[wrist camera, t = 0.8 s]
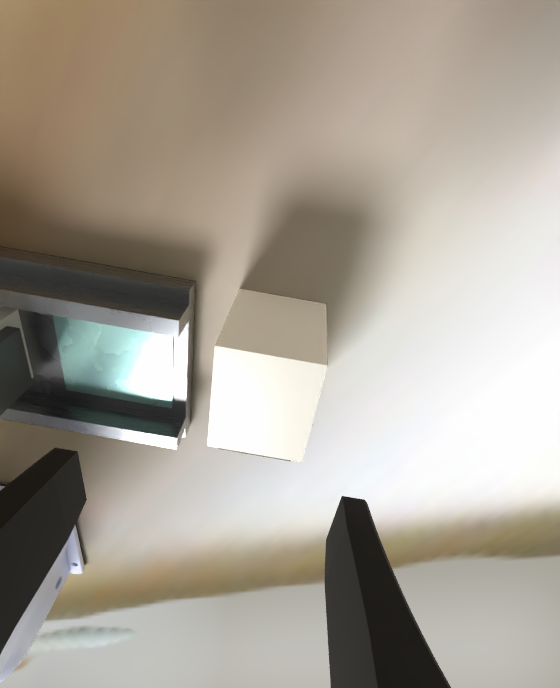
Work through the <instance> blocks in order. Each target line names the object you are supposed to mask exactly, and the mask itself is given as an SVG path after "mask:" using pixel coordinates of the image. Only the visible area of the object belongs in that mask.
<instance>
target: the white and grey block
mask: <svg viewBox="0 0 560 688" xmlns="http://www.w3.org/2000/svg"><path fill="white" fill-rule="evenodd" d="M32 378H33V372H32V368H31V364H30V359H29V355H28V351H27V346H26V342H25V338H24V333H23V329H22V325H21V320H20V316H19V312H18V309H15V308H9V307H3V306H0V416H1V415H2V414H3V413H4V412H5V411H6V410H7V409H8V408H9V407H10V406H11V405H12V404H13V403H14V402H15V401H16V400H17V399H18V398H19V397H20V396H21V395H22V394H23V393H24V392H25V391H26V390H27V389H28V388H29V387H30V386H31V385H32V384H33V382H32Z"/></svg>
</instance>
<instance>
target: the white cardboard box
mask: <svg viewBox="0 0 560 688" xmlns="http://www.w3.org/2000/svg"><path fill="white" fill-rule="evenodd" d="M327 367H328V350H327V316H326V304H324V303H318V302H312V301H307V300H301V299H295V298H290V297H284V296H278V295H273V294H267V293H262V292H256V291H250V290H245V289H239V291H238V293H237V296H236V298H235V300H234V303H233V305H232V307H231V309H230V312H229V314H228V316H227V319H226V321H225V323H224V326H223V328H222V330H221V333H220V335H219V337H218V340H217V342H216V344H215V350H214V363H213V376H212V389H211V403H210V416H209V429H208V442H207V446H210V447H216V448H218V449H223V450H229V451H235V452H241V453H246V454H252V455H258V456H263V457H269V458H275V459H281V460H286V461H296V462H302V461H303V457H304V453H305V450H306V446H307V442H308V438H309V435H310V431H311V427H312V423H313V420H314V416H315V412H316V409H317V405H318V401H319V397H320V394H321V390H322V386H323V382H324V379H325V375H326V371H327Z"/></svg>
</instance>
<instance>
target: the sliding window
mask: <svg viewBox="0 0 560 688" xmlns="http://www.w3.org/2000/svg"><path fill="white" fill-rule="evenodd" d="M195 290H196V281H191V280H185V279H180V278H174V277H169V276H163V275H157V274H152V273H146V272H140V271H135V270H129V269H123V268H118V267H112V266H106V265H101V264H95V263H90V262H84V261H78V260H73V259H67V258H61V257H56V256H50V255H44V254H39V253H33V252H27V251H22V250H16V249H11V248H5V247H0V306H3V307H9V308H15V309H18V312H19V316H20V320H21V325H22V329H23V333H24V338H25V342H26V346H27V351H28V355H29V359H30V364H31V368H32V372H33V378H32V382H33V384H32V385H31V386H30V387H29V388H28V389H27V390H26V391H25V392H24V393H23V394H22V395H21V396H20V397H19V398H18V399H17V400H16V401H15V402H14V403H13V404H12V405H11V406H10V407H9V408H8V409H7V410H6V411H5V412H4V413H3V414H2V415H1V416H0V419H4V420H10V421H16V422H22V423H27V424H33V425H39V426H45V427H50V428H56V429H62V430H68V431H73V432H79V433H85V434H91V435H96V436H102V437H108V438H114V439H119V440H125V441H131V442H137V443H142V444H148V445H154V446H160V447H165V448H171V449H177V448H178V445H179V443H180V440H181V438H182V437H183V438H185V436H186V434H187V432H188V429H189V427H190V414H191V389H192V364H193V340H194V315H195Z"/></svg>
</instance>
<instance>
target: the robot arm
mask: <svg viewBox="0 0 560 688" xmlns="http://www.w3.org/2000/svg"><path fill="white" fill-rule="evenodd" d="M86 500H87V499H86V494H85V489H84V483H83V478H82V473H81V468H80V463H79V457H78V452H77V451H71V450H65V449H59V448H54V449H53V450H51V451H50V452H49V453H47V454H46V455H45V456H43V457H42V458H41V459H40V460H38V461H37V462H36V463H35V464H33V465H32V466H31V467H29V468H28V469H27V470H26V471H24V472H23V473H22V474H21V475H19V476H18V477H17V478H15V479H14V480H13V481H12V482H10V483H9V484H8V485H6V486H0V682H1V681H3V680H4V679H5V678H6V677H7V676H8V675H10V674H11V673H12V672H13V671H14V670H15V668H16V667H17V666H18V665H19V664H20V663H21V661H22V660H23V659H24V657H25V656H26V654H27V652H28V651H29V649H30V647H31V645H32V643H33V641H34V639H35V638H36V636H37V634H38V632H39V630H40V628H41V626H42V624H43V622H44V621H45V619H46V617H47V615H48V613H49V611H50V609H51V607H52V605H53V604H54V602H55V600H56V598H57V596H58V594H59V592H60V590H61V588H62V587H63V585H64V583H65V581H66V579H67V577H68V575H69V573H73V574H82V573H83V571H84V569H85V567H84V562H83V558H82V553H81V548H80V543H79V539H78V534H77V529H76V525H75V524H76V522H77V520H78V518H79V515H80V513H81V511H82V509H83V506H84V504H85V502H86ZM325 595H326V613H327V630H328V646H329V663H330V678H331V688H451V687H450V685H449V683H448V681H447V680H446V678H445V676H444V674H443V672H442V671H441V669H440V667H439V665H438V663H437V662H436V660H435V658H434V656H433V654H432V652H431V650H430V648H429V646H428V644H427V643H426V641H425V639H424V637H423V635H422V633H421V631H420V629H419V627H418V625H417V623H416V621H415V618H414V617H413V614H412V612H411V610H410V608H409V606H408V604H407V602H406V599H405V597H404V595H403V593H402V591H401V588H400V587H399V584H398V582H397V579H396V577H395V575H394V573H393V570H392V568H391V566H390V563H389V561H388V558H387V556H386V553H385V551H384V548H383V546H382V543H381V541H380V538H379V536H378V533H377V530H376V528H375V525H374V522H373V519H372V516H371V513H370V510H369V507H368V504H367V502H366V501H365V500H362V499H356V498H350V497H344V496H342V497H341V500H340V503H339V506H338V508H337V511H336V514H335V517H334V520H333V522H332V525H331V528H330V531H329V534H328V536H327V539H326V557H325Z"/></svg>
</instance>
